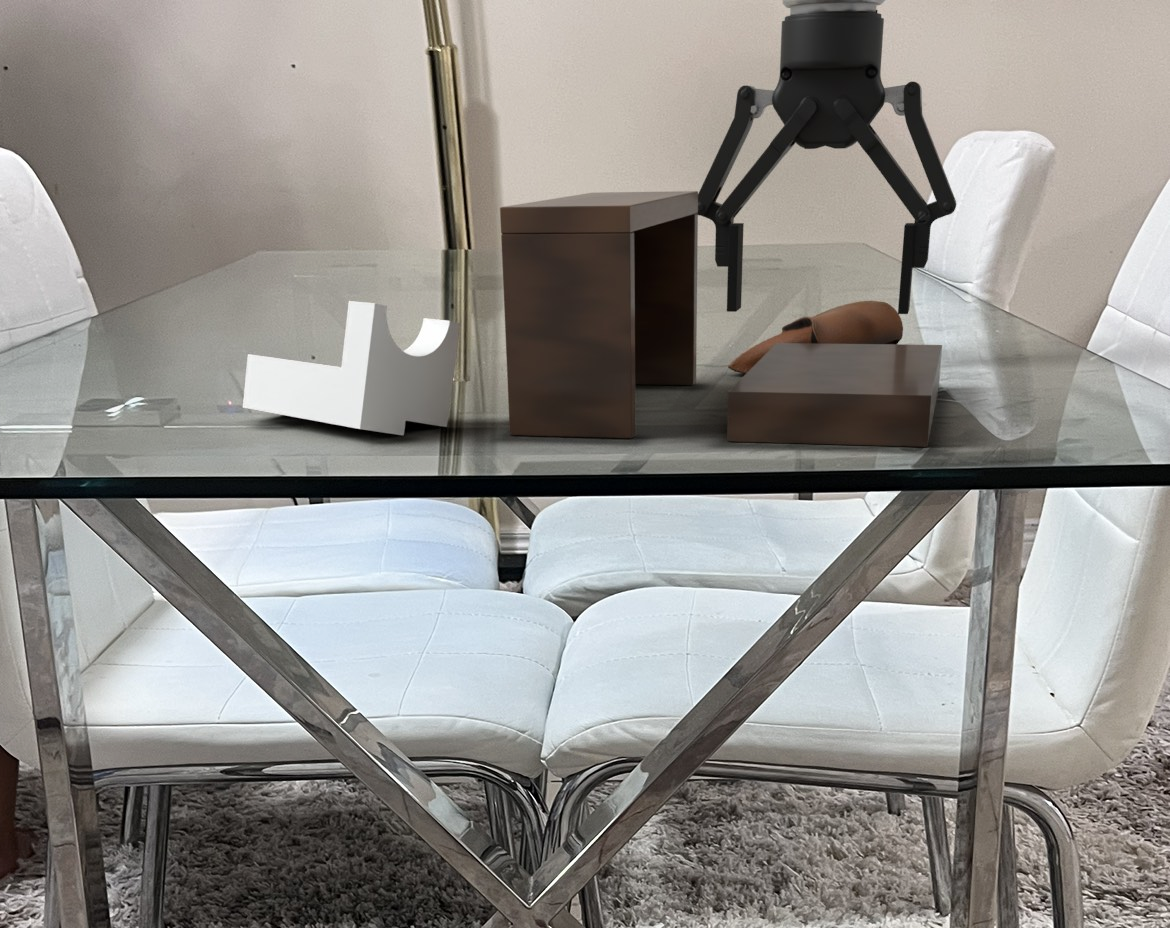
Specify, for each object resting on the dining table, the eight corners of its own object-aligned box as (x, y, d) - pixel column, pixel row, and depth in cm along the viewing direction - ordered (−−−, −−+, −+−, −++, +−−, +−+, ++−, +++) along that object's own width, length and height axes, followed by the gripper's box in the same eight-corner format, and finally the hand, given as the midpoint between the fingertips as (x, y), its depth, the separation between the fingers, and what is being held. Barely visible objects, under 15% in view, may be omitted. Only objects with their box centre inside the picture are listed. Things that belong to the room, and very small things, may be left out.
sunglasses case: (809, 339, 123) (850, 271, 119) (872, 386, 122) (915, 318, 118) (721, 368, 109) (763, 293, 105) (791, 421, 108) (837, 346, 104)
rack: (938, 387, 102) (954, 187, 97) (927, 447, 83) (946, 201, 77) (594, 381, 109) (590, 192, 103) (509, 435, 89) (499, 207, 84)
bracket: (444, 441, 93) (460, 323, 91) (359, 428, 87) (374, 303, 86) (326, 420, 101) (339, 311, 99) (242, 407, 96) (254, 292, 94)
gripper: (1006, 8, 104) (977, 307, 113) (677, 20, 110) (674, 303, 119) (1008, 1, 98) (976, 319, 107) (658, 14, 104) (656, 314, 113)
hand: (817, 311), depth 113 cm, fingers open, 13 cm apart
